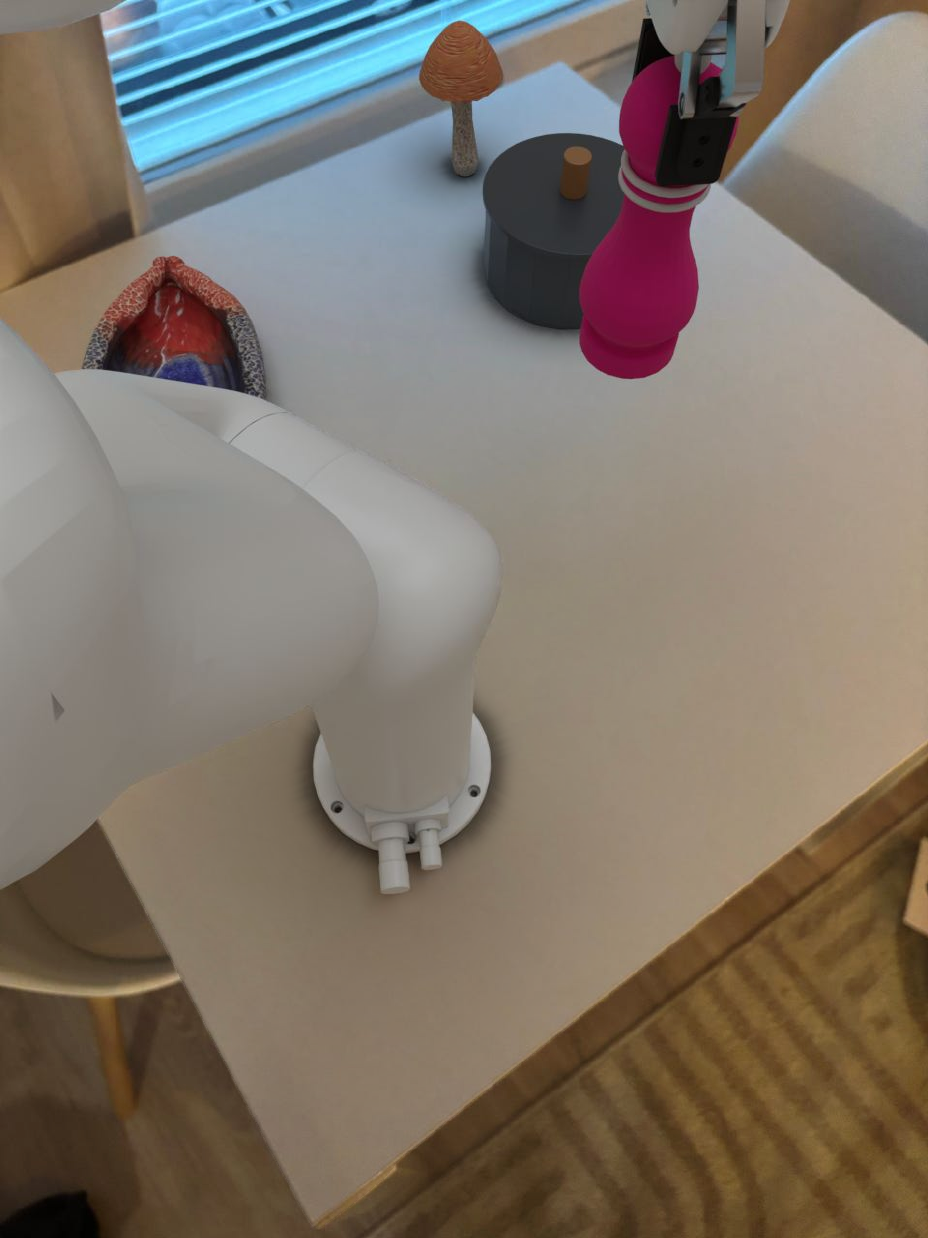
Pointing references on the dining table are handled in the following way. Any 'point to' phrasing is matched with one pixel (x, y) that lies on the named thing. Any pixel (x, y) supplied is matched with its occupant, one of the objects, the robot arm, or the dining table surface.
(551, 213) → the pan lid
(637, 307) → the pepper mill
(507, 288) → the pot
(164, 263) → the dish
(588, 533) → the dining table surface
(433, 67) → the mushroom
